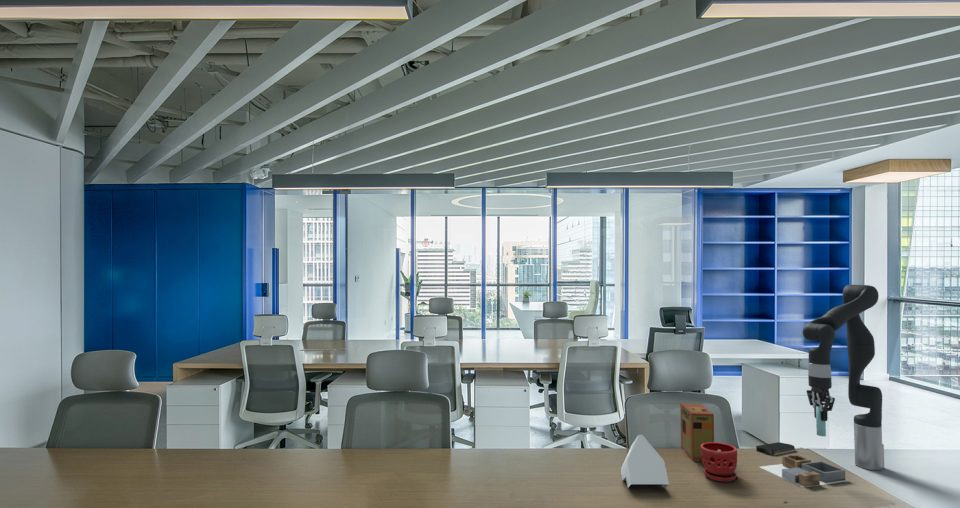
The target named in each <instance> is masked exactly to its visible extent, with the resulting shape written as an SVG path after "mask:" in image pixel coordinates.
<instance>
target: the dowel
mask: <svg viewBox="0 0 960 508" xmlns="http://www.w3.org/2000/svg"><path fill="white" fill-rule="evenodd" d="M823 408H824V405H823ZM820 411H821V410H820V406H816V418H815V420H816V424H815V425H816V435H817V436H818V437H826V436H827V425H826V423H827V421H821V418H820Z"/></svg>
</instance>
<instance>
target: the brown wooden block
mask: <svg viewBox="0 0 960 508" xmlns="http://www.w3.org/2000/svg"><path fill="white" fill-rule="evenodd" d="M799 484H800V485H802V486H804V487H803V488H809V487H808V486H810V487H817V486H816V485H818V486H821V485H820V474H818V473H816V472H807V473H799Z"/></svg>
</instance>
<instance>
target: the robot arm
mask: <svg viewBox="0 0 960 508" xmlns="http://www.w3.org/2000/svg"><path fill="white" fill-rule="evenodd" d="M879 297H880V296H879V291H878V289H877V288H876V287H875V286H873V285H868V284H847V285H845V287H843V290H842V304H840V305H837V306H835V307H832V308H831V309H829V310H828V311H826V313H824V314H823V315H822V316H821V317H817V318H815V319H813V320H811V321H809V322H807V323H806V324H805V325H804V327H803V328H802V335H803V338H804V339H806V340H807V341H810V342H817V343H819V345H818V346H817V347H810V348H809V349H808V367H807V373H808V375H807V376H808V386H809V387H810V389H807V390H806V395H807V399H808V402H809V405H810V406H812V408H813V410H814V412H813V413H814V418H815V419H816V406H820V410H821V411H820V418H821V421H826V422H827V421H828V412H830V411H832V410H833V408H834V404H835V401H836V398H835V397H833V396H831V395H830V394H831V392H830V390H829V389H832V385H833V384H832V367H831V351H832V347H833V345H834V342H835V337H836V333H835V332H836V331H838V330H839V329H840V328H841V327H842V326H844V325H845V324H846V348H847V349H846V350H847V359H848V385H847V386H848V389H847V392H848V393H847V394H848V396H847V397H848V400H849V403H850V404H851V405H852V406H854V407H860V408H864V409H869V411H868V412H866V413H860V414H856V415H854V416H853V436H854V437H853V438H854V439H853V443H854V445H853V446H854V465H855V464H856V466H857V467H859V468H862V469H864V470H870V471H882V470H883V469H884V468H885V446H884V444H883V430H882V428H883V426H882V420H883V393H882V390H881V388H880V387H877V386H873V385H867V384H861V376H862V375H863V372H864V370H865V369H866V368H867V367H868V365H869V364H870V363H871V362H872V360H873V359H874V358H875V355H876V347H875V346H876V345H875V338H874V336H873V334H872V333H871V331H870V330H869V329H868V326H866V325H865V323H864V321H863V320H862V318H861V316H860V314H861V313H863V312H865V311H867V310H870V309H871V308H873V307H874V306H876V304H877V303H878V302H879ZM823 406H824V408H823Z"/></svg>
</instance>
